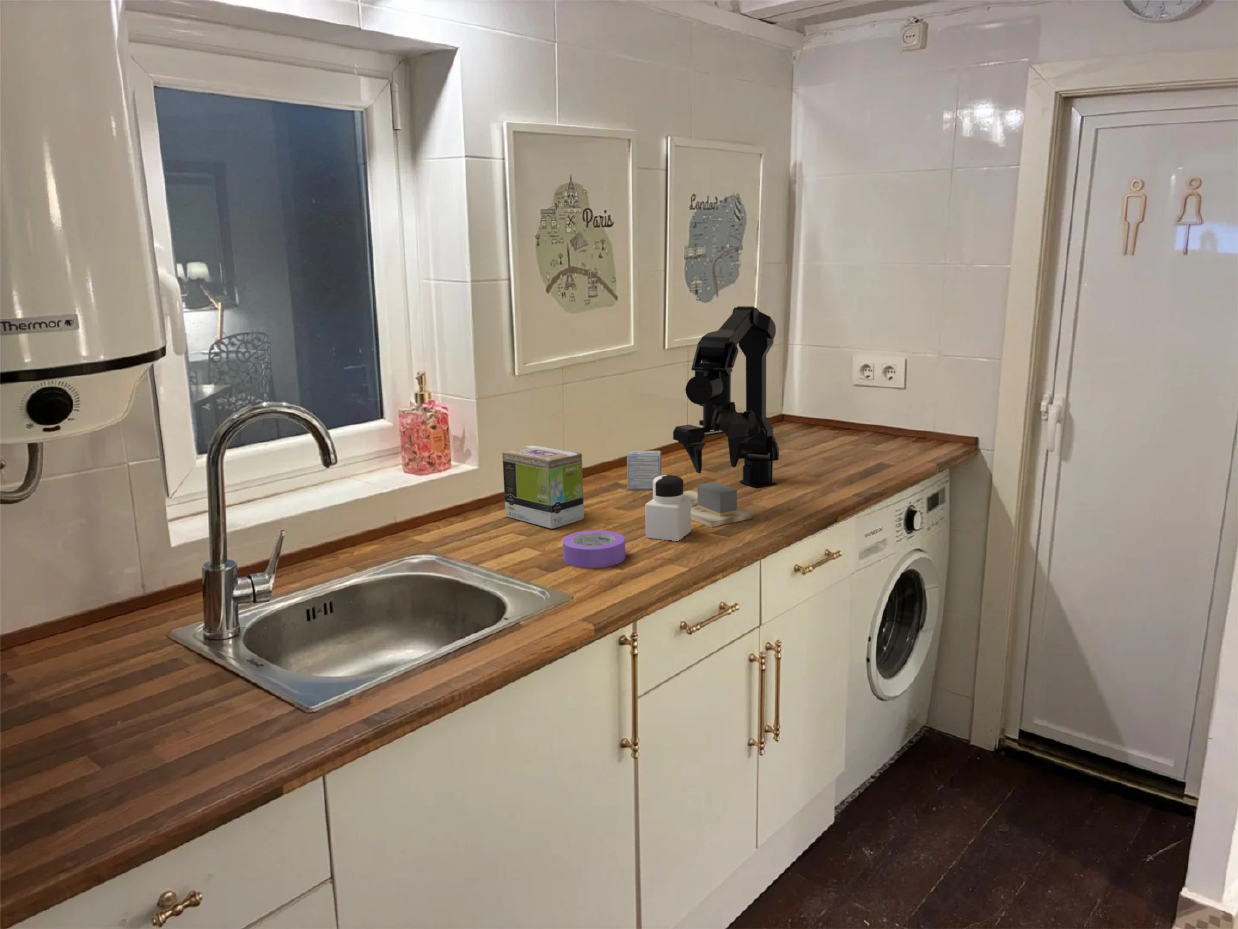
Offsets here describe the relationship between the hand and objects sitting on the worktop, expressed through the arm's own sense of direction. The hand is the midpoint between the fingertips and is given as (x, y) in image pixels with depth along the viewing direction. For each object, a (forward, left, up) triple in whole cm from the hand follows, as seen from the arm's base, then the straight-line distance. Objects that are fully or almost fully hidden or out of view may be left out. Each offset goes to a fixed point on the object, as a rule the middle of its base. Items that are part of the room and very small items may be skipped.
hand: (716, 469), depth 198 cm
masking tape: (+35, +8, -11) cm, 37 cm away
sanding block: (0, 0, -9) cm, 9 cm away
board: (0, -5, -10) cm, 11 cm away
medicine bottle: (+16, +5, -10) cm, 20 cm away
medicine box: (0, -28, -10) cm, 30 cm away
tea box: (+31, -20, -10) cm, 38 cm away
